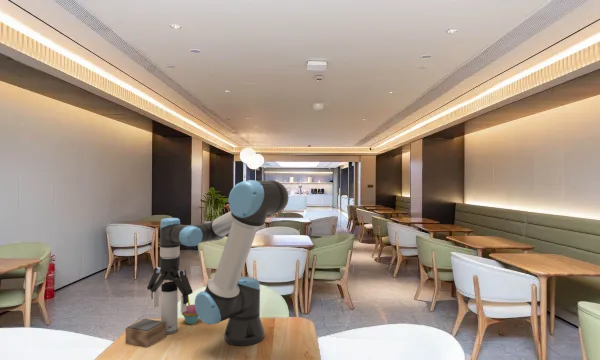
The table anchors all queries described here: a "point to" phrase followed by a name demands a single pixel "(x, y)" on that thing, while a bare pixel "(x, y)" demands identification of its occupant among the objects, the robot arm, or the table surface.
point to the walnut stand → (145, 332)
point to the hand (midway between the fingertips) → (169, 309)
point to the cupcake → (190, 314)
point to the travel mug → (169, 306)
